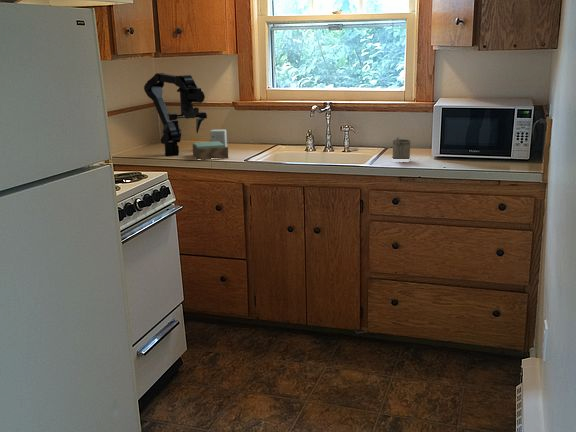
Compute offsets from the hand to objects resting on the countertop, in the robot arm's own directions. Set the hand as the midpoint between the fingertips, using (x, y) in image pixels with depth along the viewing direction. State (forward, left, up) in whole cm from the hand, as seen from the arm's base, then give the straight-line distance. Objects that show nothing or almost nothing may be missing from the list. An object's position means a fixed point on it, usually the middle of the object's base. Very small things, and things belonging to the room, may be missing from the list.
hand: (187, 133), depth 309 cm
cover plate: (+10, -1, -7) cm, 12 cm away
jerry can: (+93, -46, -12) cm, 104 cm away
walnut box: (+11, -1, -12) cm, 16 cm away
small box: (+19, +18, -12) cm, 29 cm away
